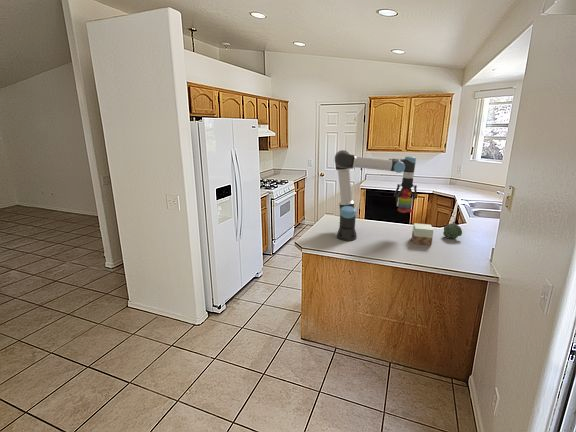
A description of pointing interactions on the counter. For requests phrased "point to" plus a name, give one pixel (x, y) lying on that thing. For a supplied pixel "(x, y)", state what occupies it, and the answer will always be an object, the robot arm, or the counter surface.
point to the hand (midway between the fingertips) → (404, 206)
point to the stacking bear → (405, 201)
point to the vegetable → (452, 231)
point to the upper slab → (423, 230)
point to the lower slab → (421, 240)
